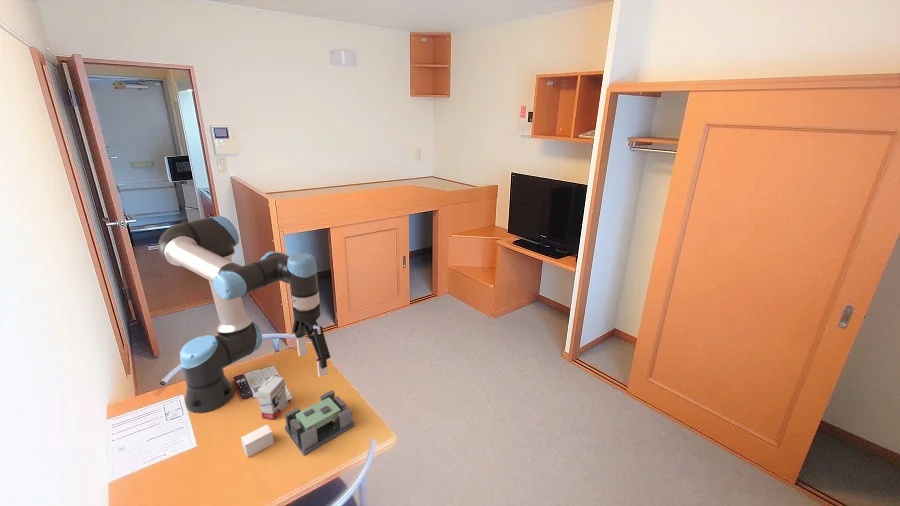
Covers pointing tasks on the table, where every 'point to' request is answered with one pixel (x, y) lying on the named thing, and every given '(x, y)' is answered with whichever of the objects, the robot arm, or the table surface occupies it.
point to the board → (318, 414)
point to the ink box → (272, 397)
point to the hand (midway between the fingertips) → (312, 364)
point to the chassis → (325, 433)
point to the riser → (257, 440)
